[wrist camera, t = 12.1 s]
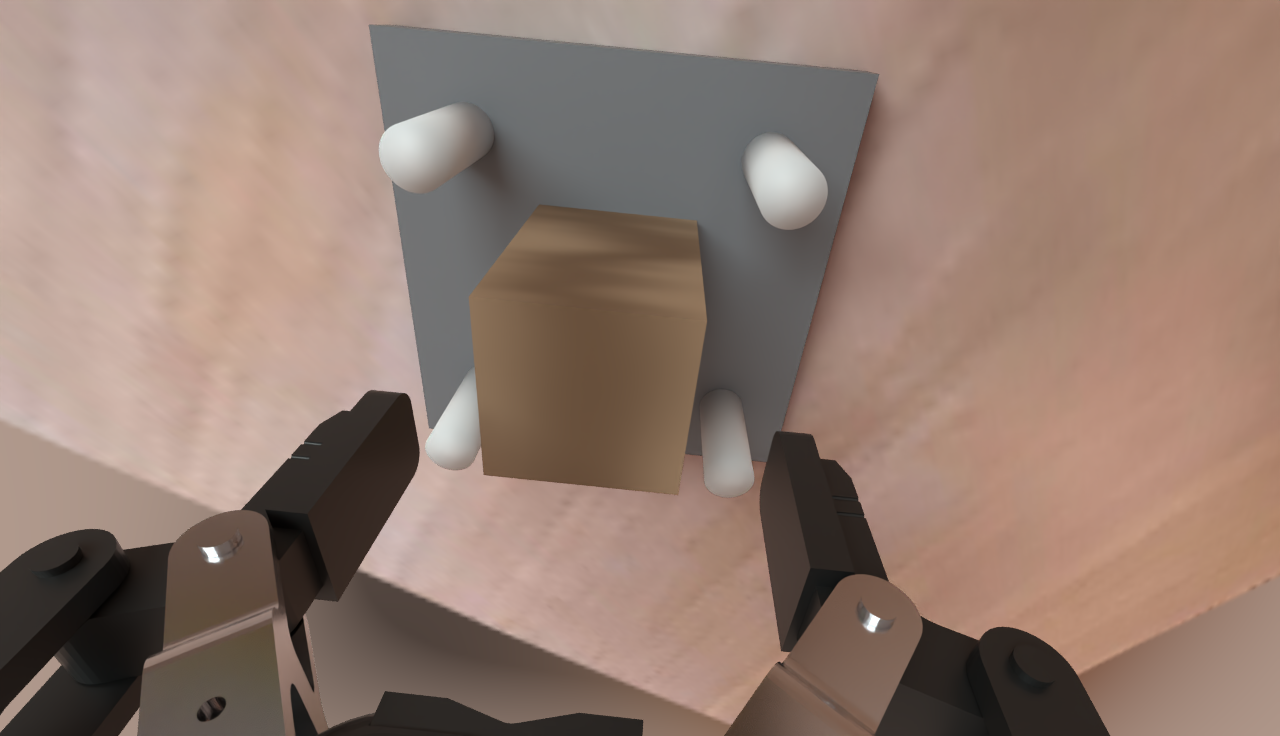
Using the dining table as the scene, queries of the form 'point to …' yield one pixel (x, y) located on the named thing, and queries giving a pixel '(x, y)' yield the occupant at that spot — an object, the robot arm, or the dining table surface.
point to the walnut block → (590, 349)
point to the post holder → (620, 201)
